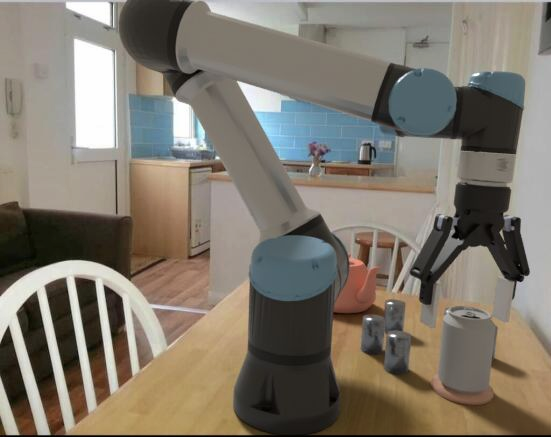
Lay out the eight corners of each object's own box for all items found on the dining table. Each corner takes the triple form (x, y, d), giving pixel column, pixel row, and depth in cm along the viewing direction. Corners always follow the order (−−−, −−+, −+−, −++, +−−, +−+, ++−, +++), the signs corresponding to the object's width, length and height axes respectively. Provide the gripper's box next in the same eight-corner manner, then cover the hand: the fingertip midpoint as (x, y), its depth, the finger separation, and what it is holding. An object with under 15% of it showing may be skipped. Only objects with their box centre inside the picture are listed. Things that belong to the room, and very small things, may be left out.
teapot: (402, 316, 110) (407, 261, 108) (348, 328, 101) (352, 269, 100) (339, 289, 128) (342, 242, 126) (288, 297, 120) (290, 246, 118)
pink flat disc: (457, 408, 72) (457, 403, 72) (419, 380, 80) (420, 375, 80) (506, 400, 75) (507, 395, 75) (465, 373, 83) (465, 369, 83)
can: (440, 393, 75) (447, 316, 73) (434, 371, 82) (440, 301, 80) (493, 400, 73) (502, 322, 71) (482, 377, 80) (490, 305, 79)
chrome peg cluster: (392, 375, 81) (395, 340, 81) (339, 332, 99) (341, 303, 98) (499, 360, 89) (502, 328, 88) (432, 323, 106) (434, 295, 106)
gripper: (427, 183, 65) (409, 337, 68) (569, 188, 73) (547, 325, 77) (395, 177, 72) (380, 317, 75) (528, 183, 80) (509, 309, 84)
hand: (464, 322), depth 76 cm, fingers open, 13 cm apart
